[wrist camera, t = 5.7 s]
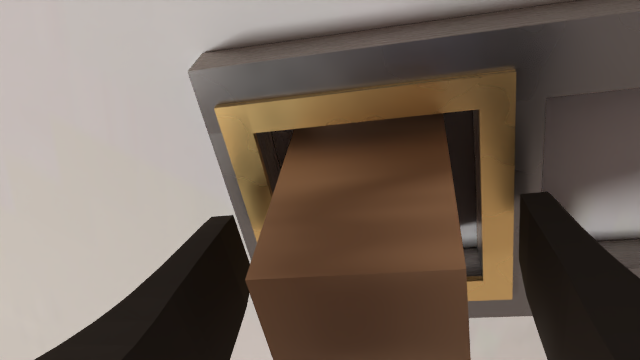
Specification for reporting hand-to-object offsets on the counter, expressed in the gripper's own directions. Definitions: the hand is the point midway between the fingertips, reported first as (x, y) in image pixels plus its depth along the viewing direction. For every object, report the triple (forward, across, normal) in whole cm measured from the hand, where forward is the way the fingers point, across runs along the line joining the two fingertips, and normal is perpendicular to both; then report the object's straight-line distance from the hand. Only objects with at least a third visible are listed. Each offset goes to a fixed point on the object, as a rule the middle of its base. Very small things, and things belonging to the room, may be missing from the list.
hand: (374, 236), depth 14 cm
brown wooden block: (+2, 0, 0) cm, 3 cm away
